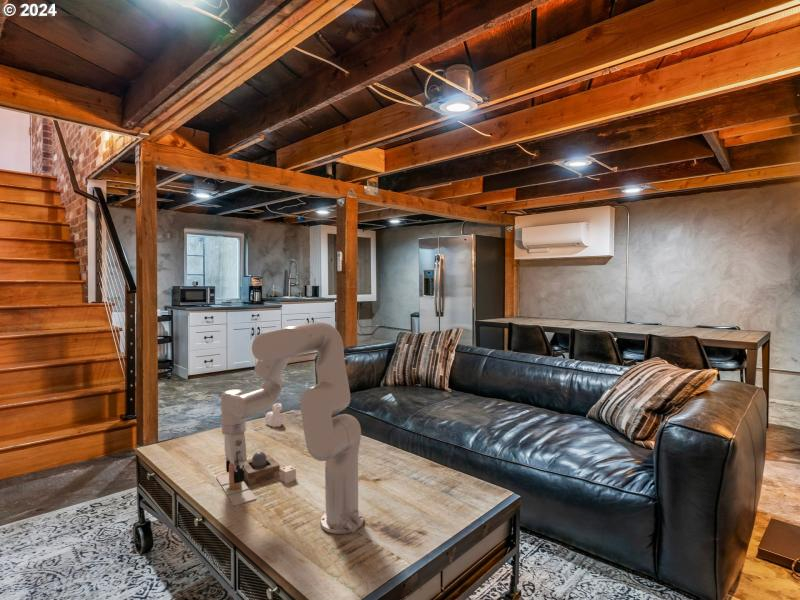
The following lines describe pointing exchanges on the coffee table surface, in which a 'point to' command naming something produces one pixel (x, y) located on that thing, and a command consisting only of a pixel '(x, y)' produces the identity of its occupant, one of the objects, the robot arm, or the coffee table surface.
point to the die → (287, 473)
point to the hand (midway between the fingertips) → (235, 476)
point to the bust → (275, 416)
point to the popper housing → (261, 471)
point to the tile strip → (236, 491)
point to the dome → (259, 460)
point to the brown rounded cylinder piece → (231, 478)
